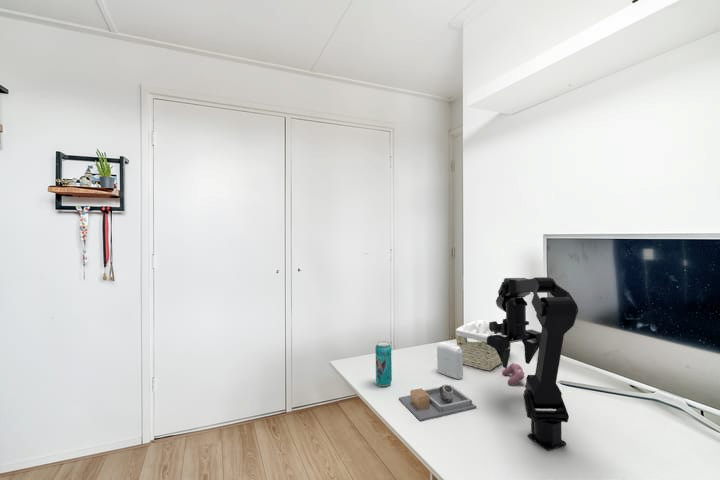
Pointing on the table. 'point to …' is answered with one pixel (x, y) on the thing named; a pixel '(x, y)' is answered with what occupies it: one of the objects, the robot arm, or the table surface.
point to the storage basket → (477, 345)
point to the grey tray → (435, 403)
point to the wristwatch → (447, 391)
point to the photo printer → (450, 360)
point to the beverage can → (383, 363)
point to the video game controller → (514, 373)
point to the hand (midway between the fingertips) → (516, 365)
